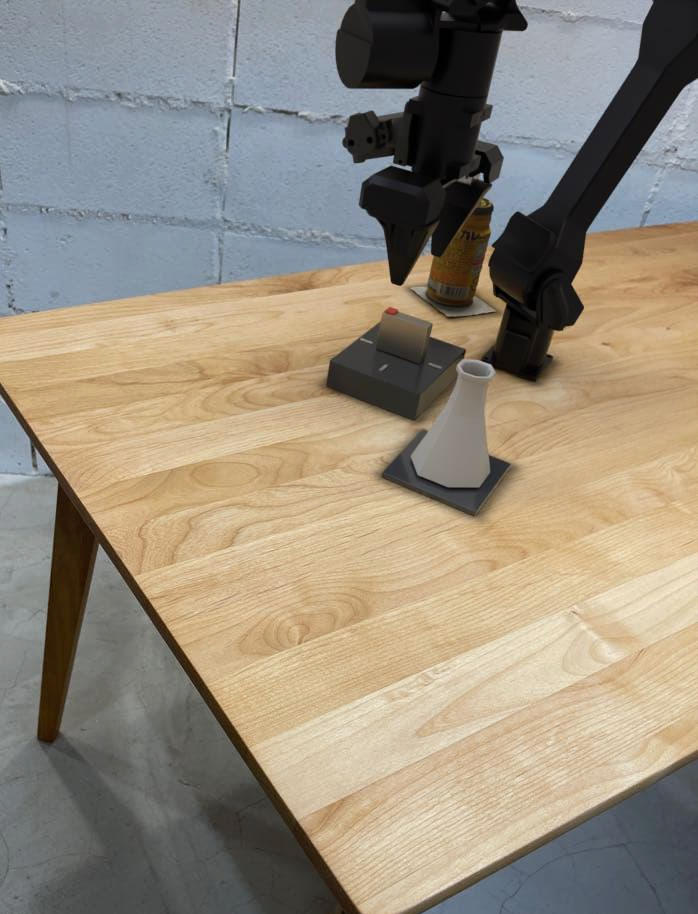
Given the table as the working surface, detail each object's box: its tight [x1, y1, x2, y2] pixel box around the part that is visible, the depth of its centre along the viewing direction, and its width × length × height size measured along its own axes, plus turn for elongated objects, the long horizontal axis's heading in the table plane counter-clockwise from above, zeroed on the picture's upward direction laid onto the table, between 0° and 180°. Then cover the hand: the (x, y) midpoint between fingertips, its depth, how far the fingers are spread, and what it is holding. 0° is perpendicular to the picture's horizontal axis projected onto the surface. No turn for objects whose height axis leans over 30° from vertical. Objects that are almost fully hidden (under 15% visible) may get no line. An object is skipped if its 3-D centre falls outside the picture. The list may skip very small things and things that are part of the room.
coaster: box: [380, 428, 512, 517], centre depth 76 cm, size 9×9×1 cm
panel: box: [325, 320, 467, 421], centre depth 87 cm, size 12×10×3 cm
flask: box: [411, 358, 497, 487], centre depth 72 cm, size 7×7×10 cm
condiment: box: [410, 197, 496, 318], centre depth 101 cm, size 7×8×12 cm
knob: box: [376, 306, 434, 364], centre depth 84 cm, size 5×1×4 cm, turn 60°
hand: (417, 269), depth 80 cm, fingers open, 9 cm apart
